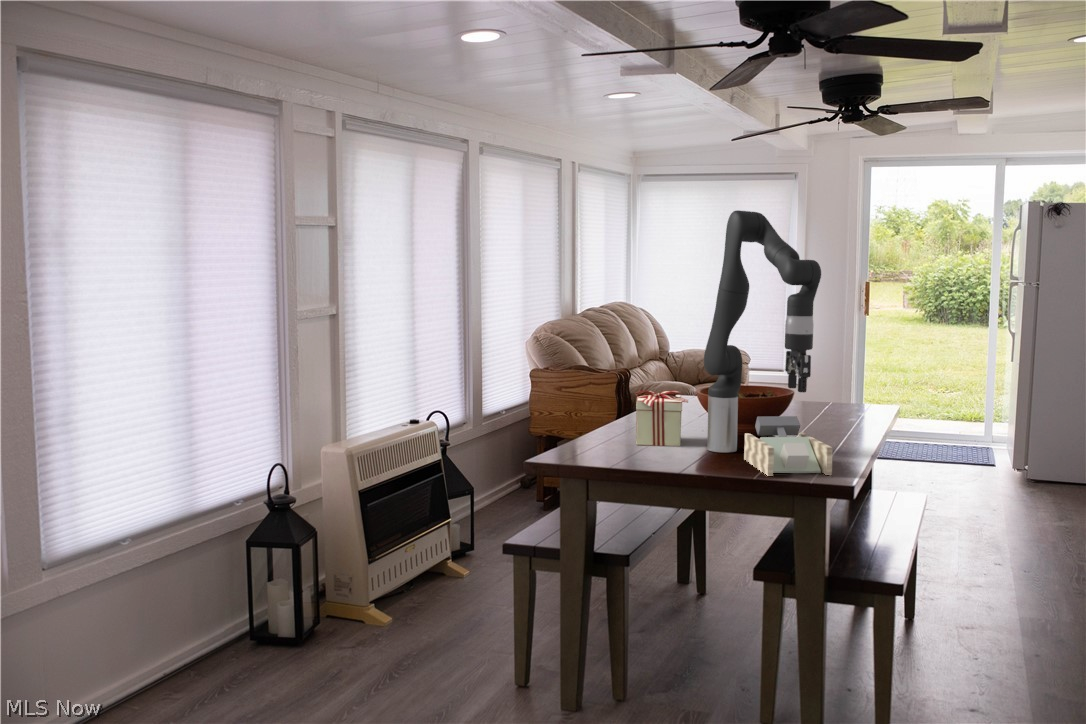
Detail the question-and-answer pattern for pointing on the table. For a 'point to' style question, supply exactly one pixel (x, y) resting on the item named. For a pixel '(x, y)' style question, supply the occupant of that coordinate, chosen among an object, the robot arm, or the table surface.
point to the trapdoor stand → (764, 454)
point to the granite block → (794, 455)
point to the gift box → (658, 418)
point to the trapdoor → (784, 441)
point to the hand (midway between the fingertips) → (796, 390)
